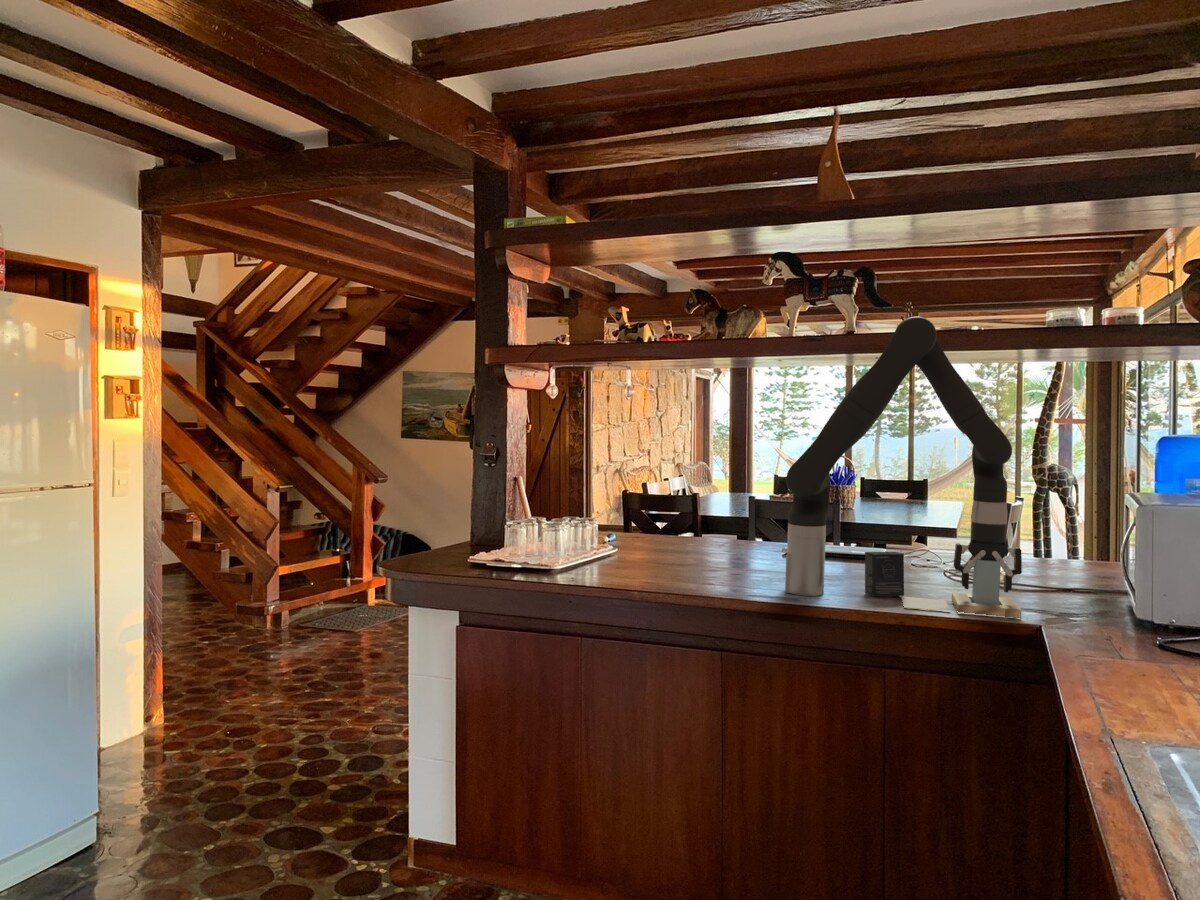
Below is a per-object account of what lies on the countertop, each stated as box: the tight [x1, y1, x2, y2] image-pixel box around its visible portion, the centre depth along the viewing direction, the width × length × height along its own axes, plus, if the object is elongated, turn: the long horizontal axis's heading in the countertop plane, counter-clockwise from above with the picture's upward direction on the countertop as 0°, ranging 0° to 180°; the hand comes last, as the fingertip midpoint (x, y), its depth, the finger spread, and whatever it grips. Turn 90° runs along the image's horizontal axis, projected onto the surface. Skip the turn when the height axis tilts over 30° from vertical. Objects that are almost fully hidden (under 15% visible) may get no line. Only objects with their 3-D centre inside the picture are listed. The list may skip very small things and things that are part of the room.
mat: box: [900, 596, 950, 610], centre depth 196 cm, size 10×12×1 cm
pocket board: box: [951, 592, 1022, 620], centre depth 192 cm, size 13×13×2 cm
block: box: [971, 560, 1002, 605], centre depth 192 cm, size 5×5×12 cm
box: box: [864, 551, 905, 597], centre depth 205 cm, size 8×6×11 cm
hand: (986, 590), depth 192 cm, fingers open, 8 cm apart
